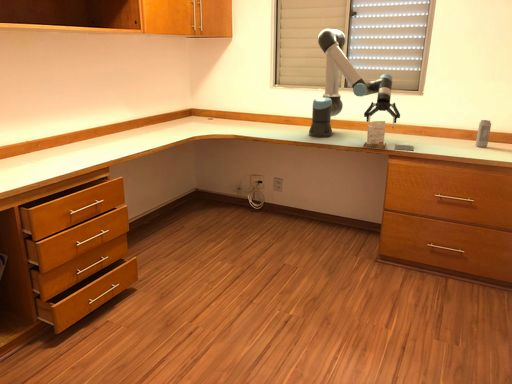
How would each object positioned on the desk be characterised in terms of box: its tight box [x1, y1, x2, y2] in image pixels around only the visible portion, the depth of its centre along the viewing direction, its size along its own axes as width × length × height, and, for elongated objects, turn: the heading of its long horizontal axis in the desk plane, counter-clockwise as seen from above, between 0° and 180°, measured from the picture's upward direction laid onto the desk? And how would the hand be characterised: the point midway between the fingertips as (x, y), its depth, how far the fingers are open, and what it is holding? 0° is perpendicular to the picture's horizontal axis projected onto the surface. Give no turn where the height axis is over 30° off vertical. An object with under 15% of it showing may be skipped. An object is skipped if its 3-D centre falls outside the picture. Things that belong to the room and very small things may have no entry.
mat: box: [393, 143, 414, 152], centre depth 242 cm, size 10×12×1 cm
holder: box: [362, 141, 387, 150], centre depth 246 cm, size 12×13×2 cm
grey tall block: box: [475, 119, 492, 149], centre depth 243 cm, size 6×6×15 cm
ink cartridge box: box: [366, 120, 386, 144], centre depth 244 cm, size 9×5×15 cm, turn 101°
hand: (380, 126), depth 246 cm, fingers open, 13 cm apart
